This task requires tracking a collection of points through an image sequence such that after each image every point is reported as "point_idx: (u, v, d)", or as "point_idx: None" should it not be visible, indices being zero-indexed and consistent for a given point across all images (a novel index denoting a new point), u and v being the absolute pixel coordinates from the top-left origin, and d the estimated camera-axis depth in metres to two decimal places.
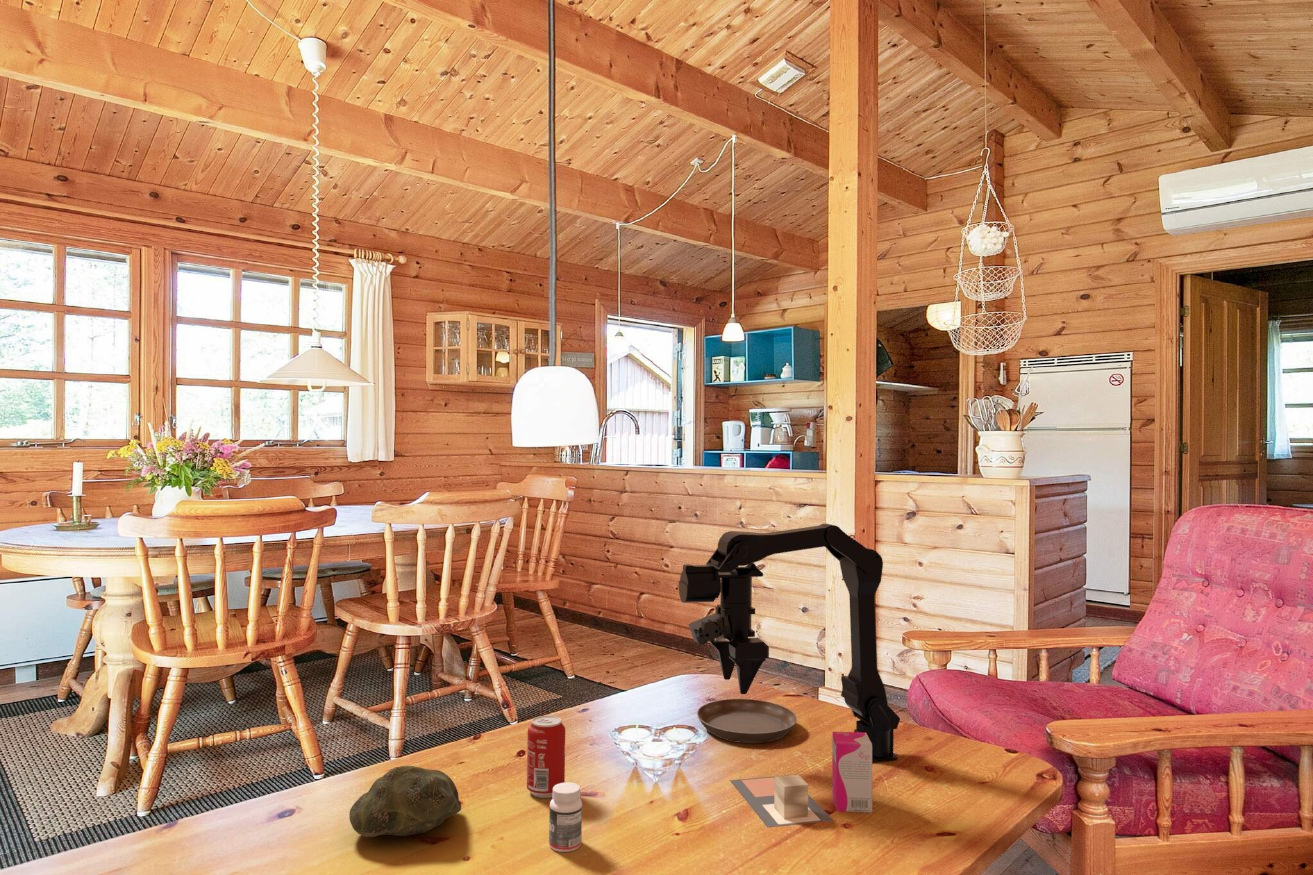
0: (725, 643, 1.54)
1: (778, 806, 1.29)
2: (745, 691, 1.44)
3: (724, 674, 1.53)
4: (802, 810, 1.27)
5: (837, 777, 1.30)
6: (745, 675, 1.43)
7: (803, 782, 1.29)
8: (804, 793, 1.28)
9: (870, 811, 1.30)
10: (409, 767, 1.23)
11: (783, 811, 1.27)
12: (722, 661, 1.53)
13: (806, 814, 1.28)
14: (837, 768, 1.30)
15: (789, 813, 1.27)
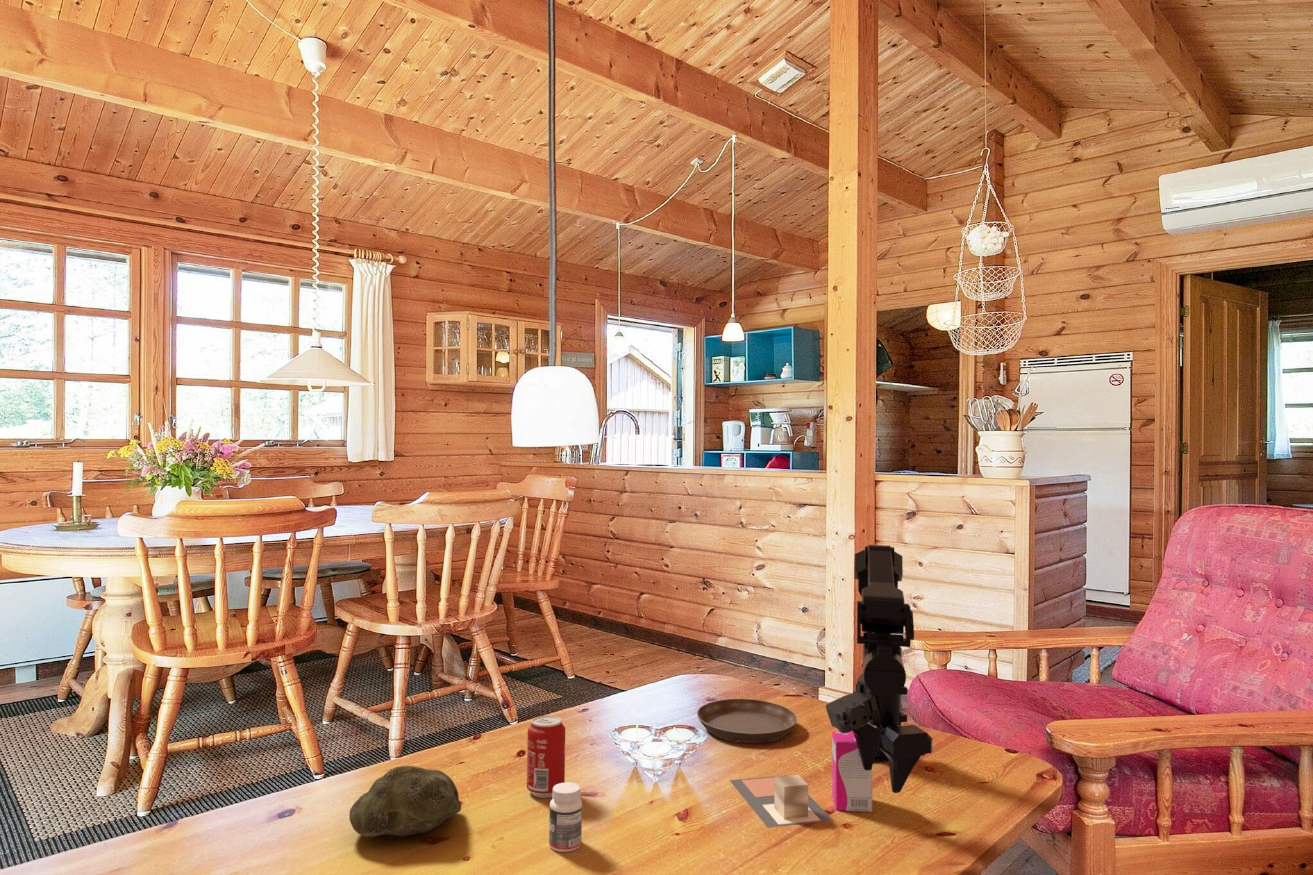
0: (865, 726, 1.28)
1: (778, 806, 1.29)
2: (898, 789, 1.19)
3: (864, 763, 1.28)
4: (802, 810, 1.27)
5: (837, 776, 1.30)
6: (900, 770, 1.18)
7: (803, 782, 1.29)
8: (804, 793, 1.28)
9: (870, 810, 1.30)
10: (409, 767, 1.23)
11: (783, 811, 1.27)
12: (862, 748, 1.28)
13: (806, 814, 1.28)
14: (837, 767, 1.30)
15: (789, 813, 1.27)
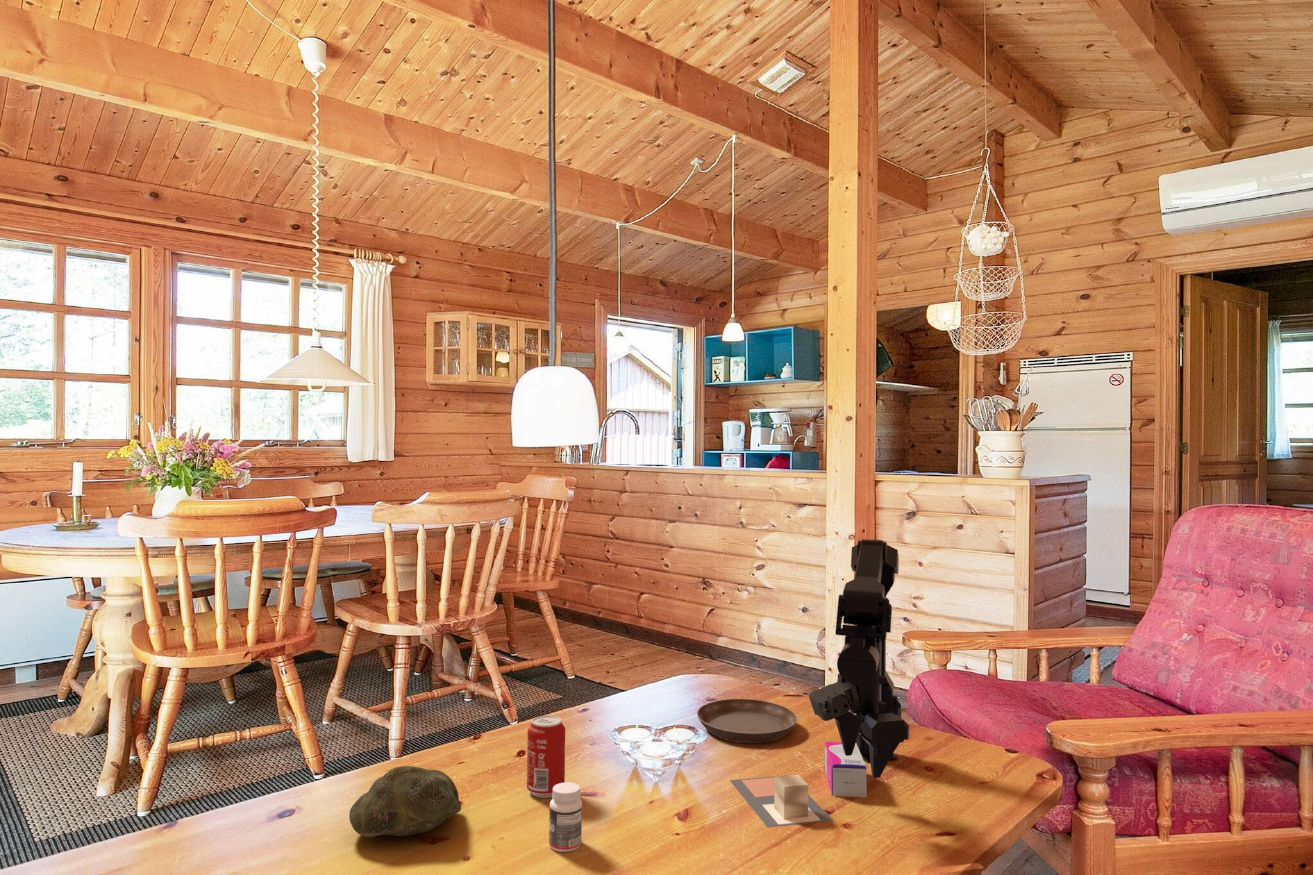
0: (846, 713, 1.35)
1: (778, 806, 1.29)
2: (878, 775, 1.25)
3: (845, 749, 1.34)
4: (802, 810, 1.27)
5: (829, 752, 1.41)
6: (879, 757, 1.24)
7: (803, 782, 1.29)
8: (804, 793, 1.28)
9: (864, 765, 1.36)
10: (409, 767, 1.23)
11: (783, 811, 1.27)
12: (843, 734, 1.34)
13: (806, 814, 1.28)
14: (828, 749, 1.43)
15: (789, 813, 1.27)
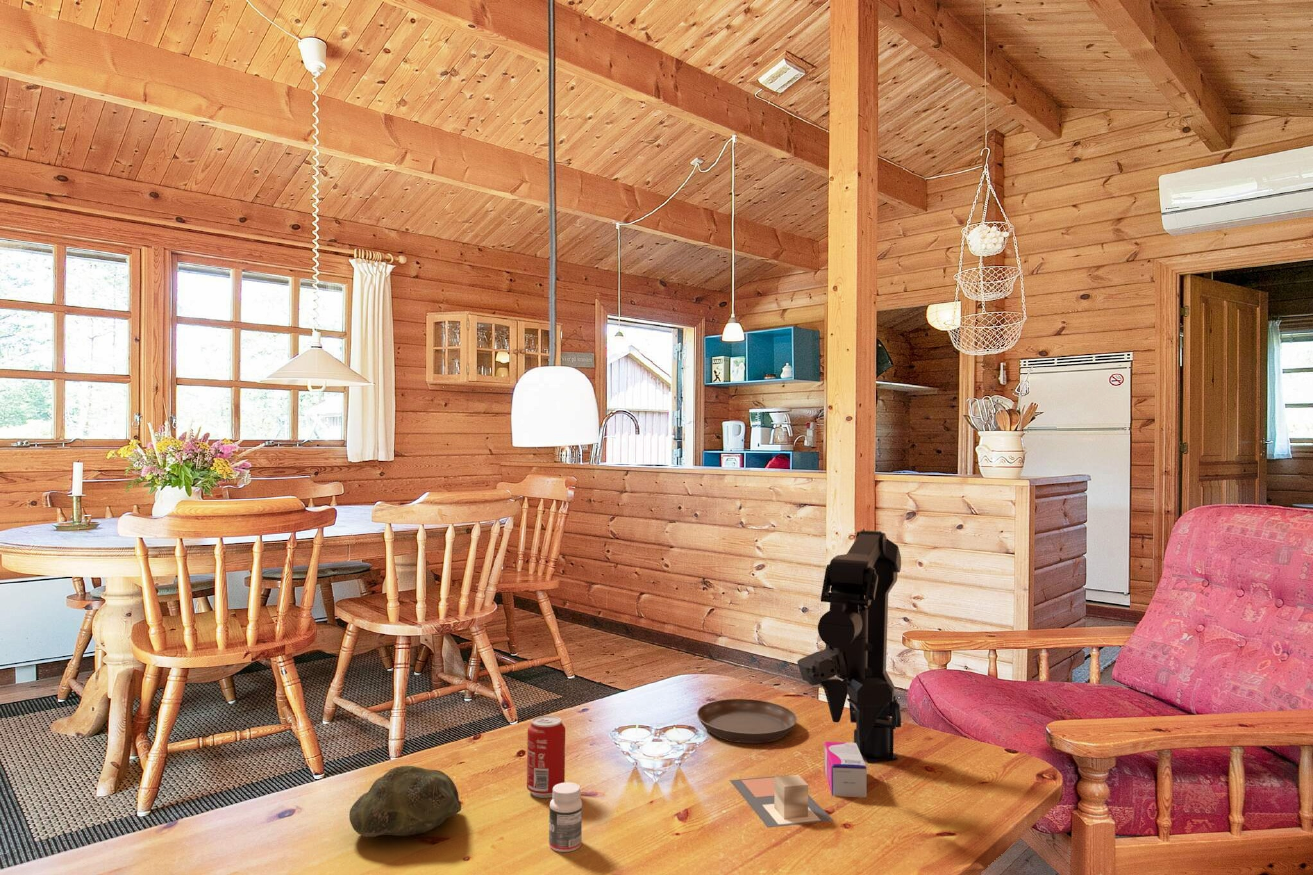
0: (834, 681, 1.39)
1: (778, 806, 1.29)
2: (864, 737, 1.29)
3: (833, 715, 1.38)
4: (802, 810, 1.27)
5: (829, 752, 1.41)
6: (865, 720, 1.28)
7: (803, 782, 1.29)
8: (804, 793, 1.28)
9: (864, 765, 1.36)
10: (409, 767, 1.23)
11: (783, 811, 1.27)
12: (831, 701, 1.38)
13: (806, 814, 1.28)
14: (828, 749, 1.43)
15: (789, 813, 1.27)
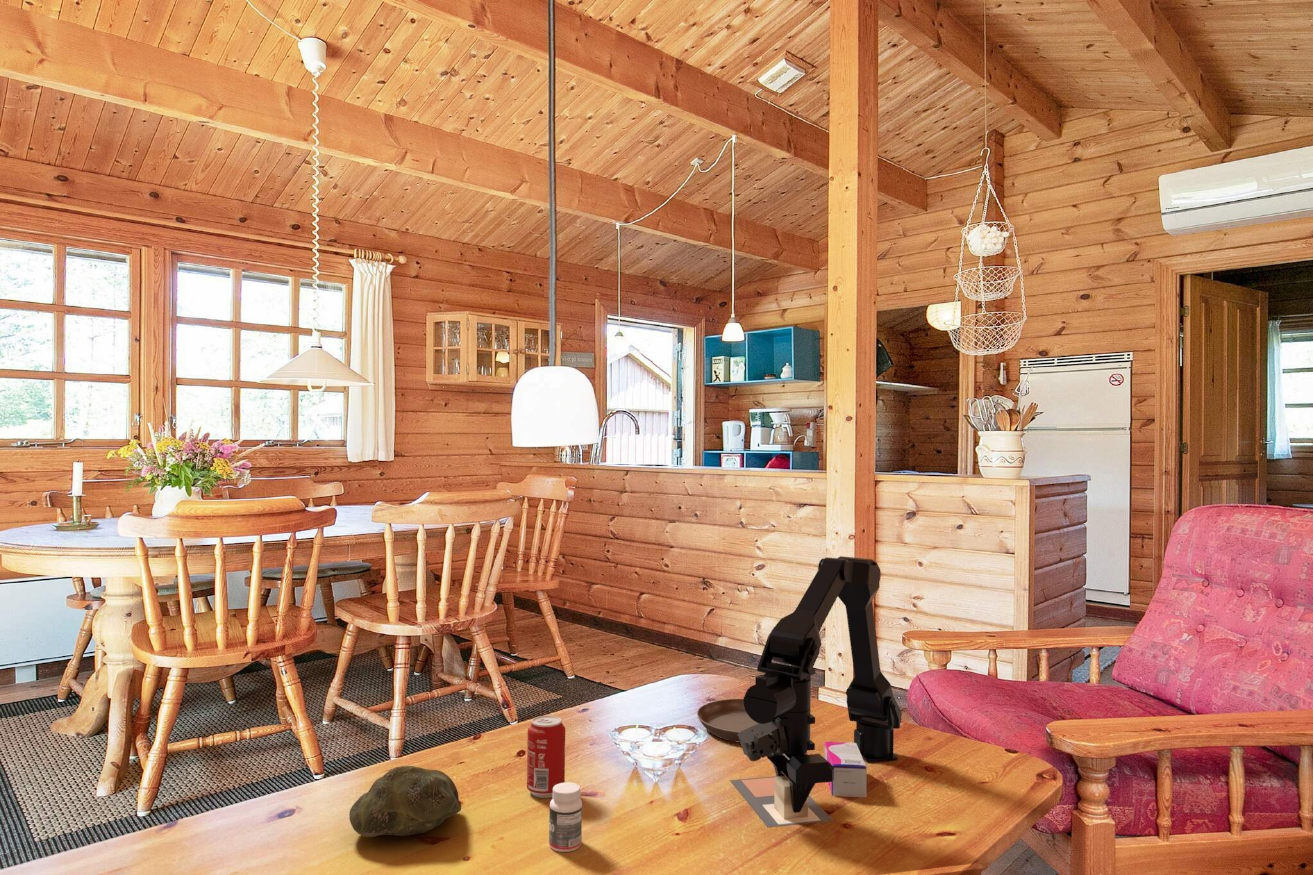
0: (783, 757, 1.32)
1: (778, 806, 1.29)
2: (799, 809, 1.27)
3: None
4: (802, 810, 1.27)
5: (829, 752, 1.41)
6: (799, 791, 1.26)
7: None
8: None
9: (864, 765, 1.36)
10: (409, 767, 1.23)
11: (783, 811, 1.27)
12: None
13: (806, 814, 1.28)
14: (828, 749, 1.43)
15: (789, 813, 1.27)
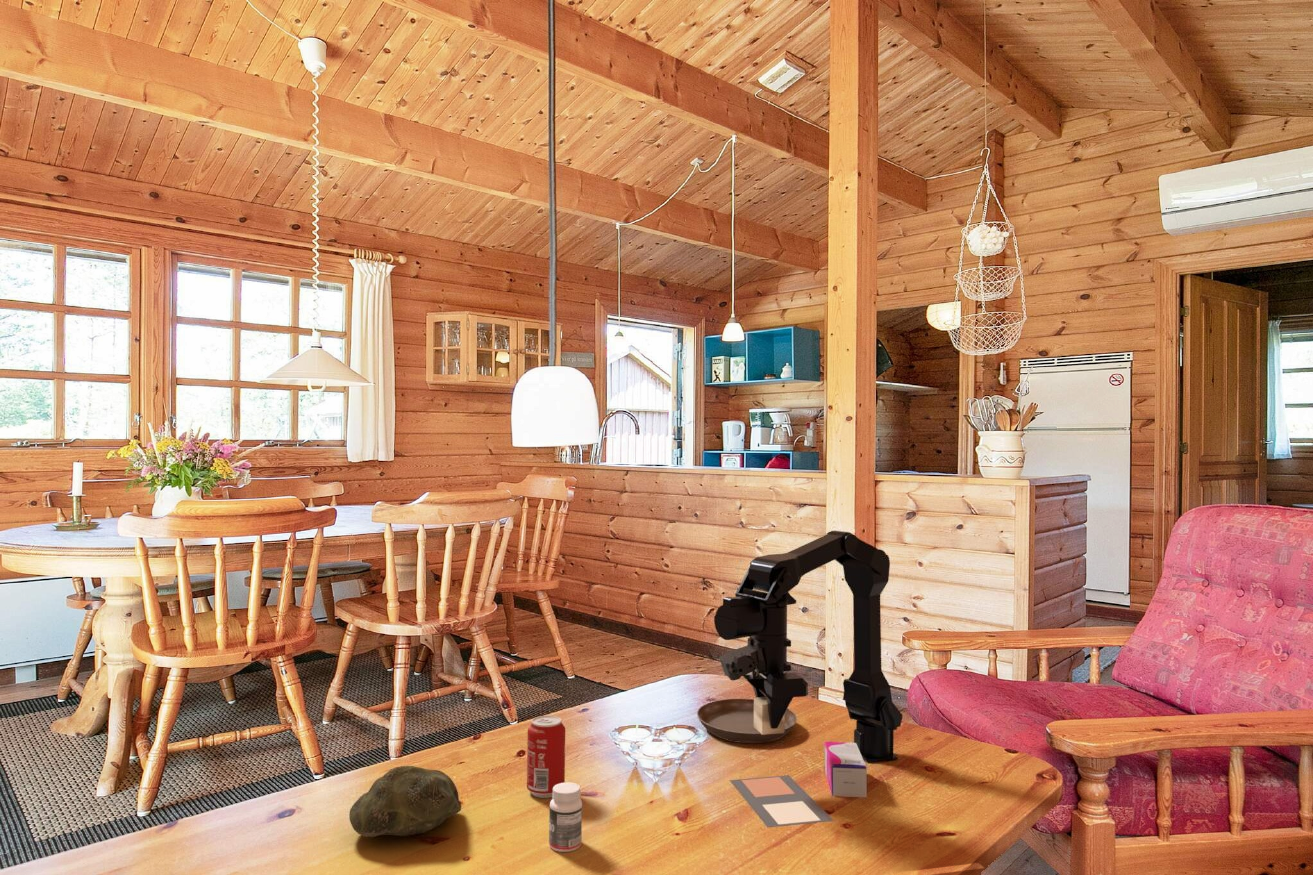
0: (762, 680, 1.42)
1: (757, 723, 1.39)
2: (776, 725, 1.37)
3: None
4: (779, 727, 1.37)
5: (829, 752, 1.41)
6: (776, 708, 1.36)
7: None
8: None
9: (864, 765, 1.36)
10: (409, 767, 1.23)
11: (761, 727, 1.37)
12: None
13: (783, 730, 1.37)
14: (828, 749, 1.43)
15: (767, 729, 1.37)
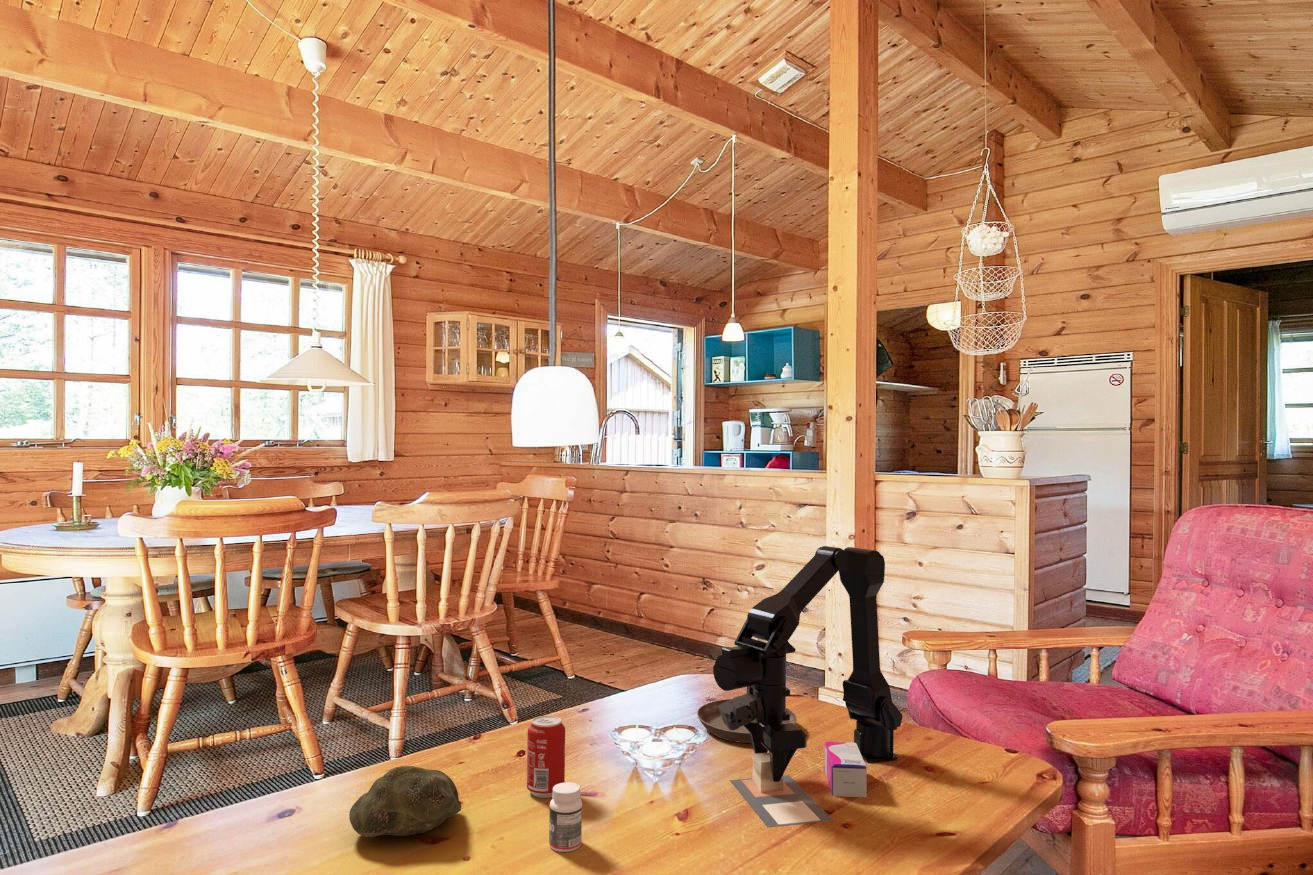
0: (758, 725, 1.43)
1: (756, 781, 1.38)
2: (778, 778, 1.35)
3: None
4: (778, 784, 1.37)
5: (829, 752, 1.41)
6: (778, 762, 1.34)
7: None
8: None
9: (864, 765, 1.36)
10: (409, 767, 1.23)
11: (760, 785, 1.37)
12: (755, 745, 1.42)
13: (781, 788, 1.37)
14: (828, 749, 1.43)
15: (765, 787, 1.37)
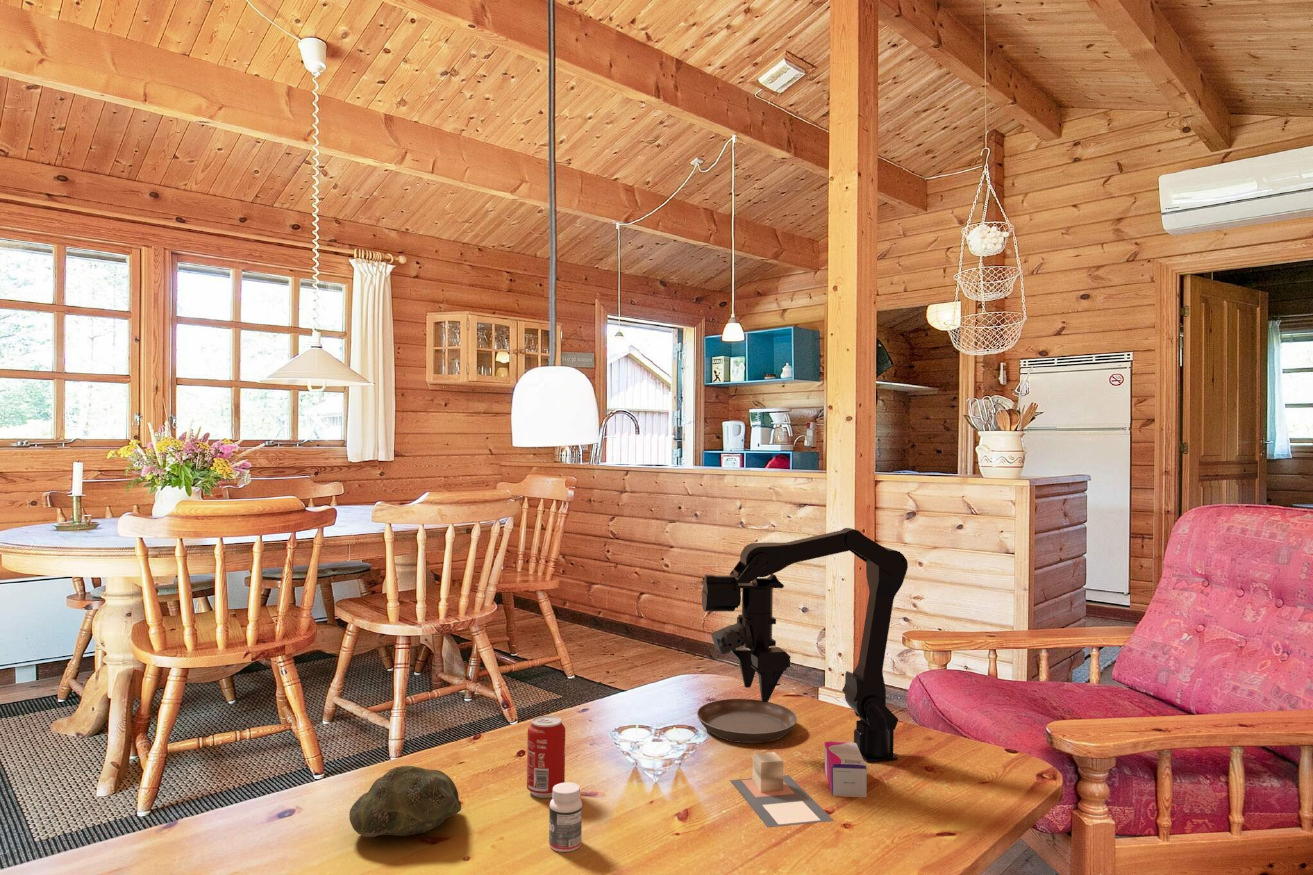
0: (746, 652, 1.58)
1: (756, 781, 1.38)
2: (766, 699, 1.49)
3: (745, 682, 1.58)
4: (778, 784, 1.37)
5: (829, 752, 1.41)
6: (767, 683, 1.48)
7: (779, 758, 1.38)
8: (779, 768, 1.37)
9: (864, 765, 1.36)
10: (409, 767, 1.23)
11: (760, 785, 1.37)
12: (743, 669, 1.58)
13: (781, 788, 1.37)
14: (828, 749, 1.43)
15: (765, 787, 1.37)
